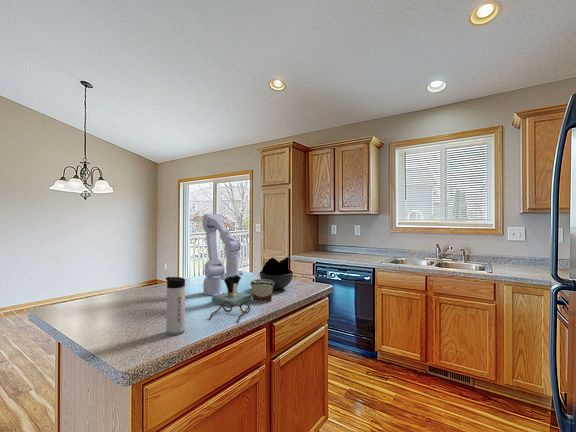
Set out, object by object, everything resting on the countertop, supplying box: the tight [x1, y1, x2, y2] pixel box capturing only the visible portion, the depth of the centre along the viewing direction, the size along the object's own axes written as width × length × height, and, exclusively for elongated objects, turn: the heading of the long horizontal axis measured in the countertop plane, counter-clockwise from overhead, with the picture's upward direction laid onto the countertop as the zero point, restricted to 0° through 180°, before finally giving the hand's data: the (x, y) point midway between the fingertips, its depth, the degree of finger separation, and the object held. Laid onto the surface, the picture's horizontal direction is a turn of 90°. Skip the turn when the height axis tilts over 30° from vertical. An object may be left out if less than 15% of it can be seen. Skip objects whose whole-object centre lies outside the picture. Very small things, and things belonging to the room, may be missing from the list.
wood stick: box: [227, 283, 238, 298], centre depth 144 cm, size 4×2×9 cm, turn 60°
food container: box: [249, 278, 274, 303], centre depth 147 cm, size 12×6×10 cm, turn 84°
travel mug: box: [165, 276, 186, 337], centre depth 104 cm, size 6×7×20 cm
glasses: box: [208, 301, 251, 324], centre depth 121 cm, size 13×13×5 cm
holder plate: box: [211, 291, 253, 308], centre depth 144 cm, size 14×14×2 cm
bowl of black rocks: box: [259, 256, 294, 291], centre depth 169 cm, size 20×20×19 cm
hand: (232, 291), depth 144 cm, fingers closed on wood stick, 2 cm apart
